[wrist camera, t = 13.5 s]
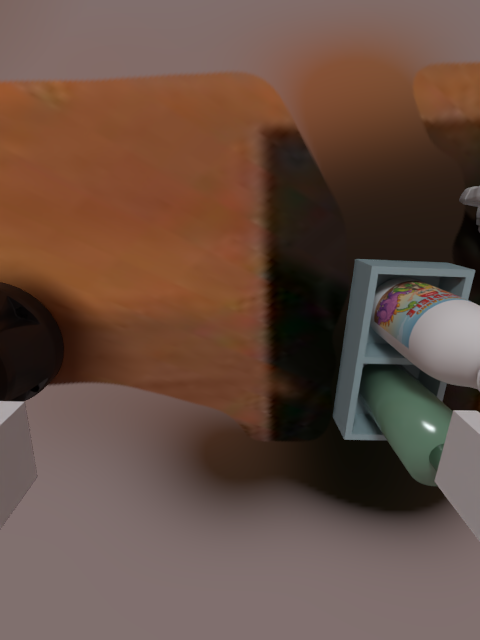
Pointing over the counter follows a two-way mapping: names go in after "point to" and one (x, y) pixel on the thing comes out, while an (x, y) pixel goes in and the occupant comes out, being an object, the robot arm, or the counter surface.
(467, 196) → the mug
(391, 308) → the milk bottle
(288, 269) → the counter surface
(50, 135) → the counter surface
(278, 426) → the counter surface
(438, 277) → the crate
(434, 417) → the green bottle
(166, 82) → the counter surface
